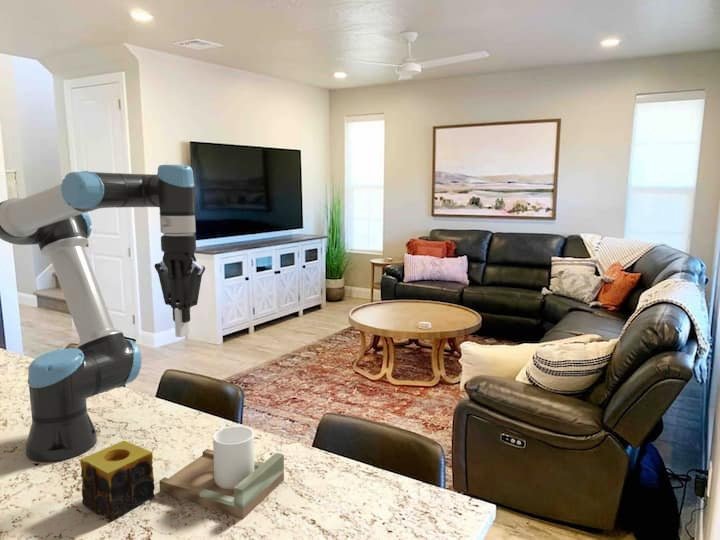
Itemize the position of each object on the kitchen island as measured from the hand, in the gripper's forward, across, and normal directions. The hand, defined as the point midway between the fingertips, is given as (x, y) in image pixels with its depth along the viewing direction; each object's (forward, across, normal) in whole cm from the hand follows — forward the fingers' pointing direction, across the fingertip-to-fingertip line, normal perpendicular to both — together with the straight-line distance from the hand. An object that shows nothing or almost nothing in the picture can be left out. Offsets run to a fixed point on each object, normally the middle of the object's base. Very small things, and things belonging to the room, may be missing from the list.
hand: (182, 335), depth 121 cm
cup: (+28, +18, -7) cm, 34 cm away
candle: (+30, +1, -21) cm, 36 cm away
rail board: (+29, +17, -8) cm, 35 cm away
